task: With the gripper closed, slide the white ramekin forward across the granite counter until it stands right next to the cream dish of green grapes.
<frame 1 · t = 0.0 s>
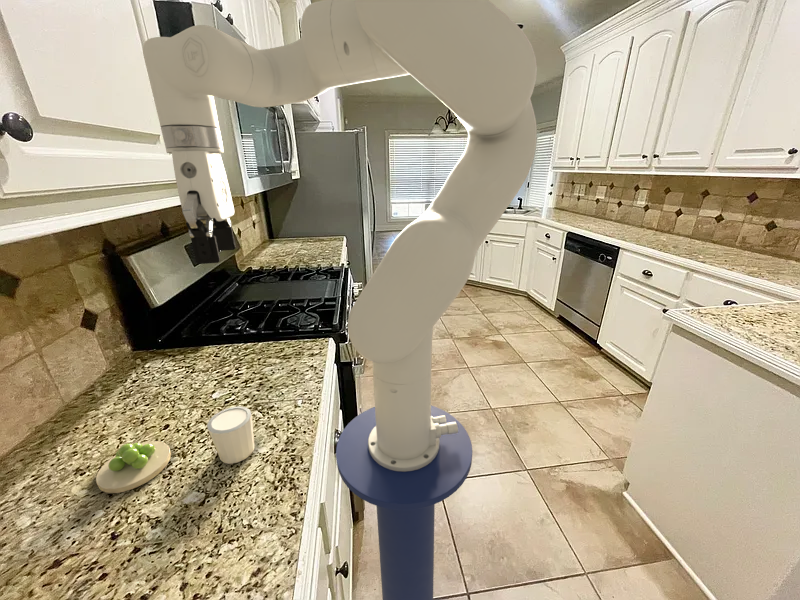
hand: (218, 255, 57), 33 cm above the countertop, tool pointing down, fingers open, 9 cm apart
grape dish: (136, 467, 58), on the countertop
white ramekin: (237, 451, 61), on the countertop
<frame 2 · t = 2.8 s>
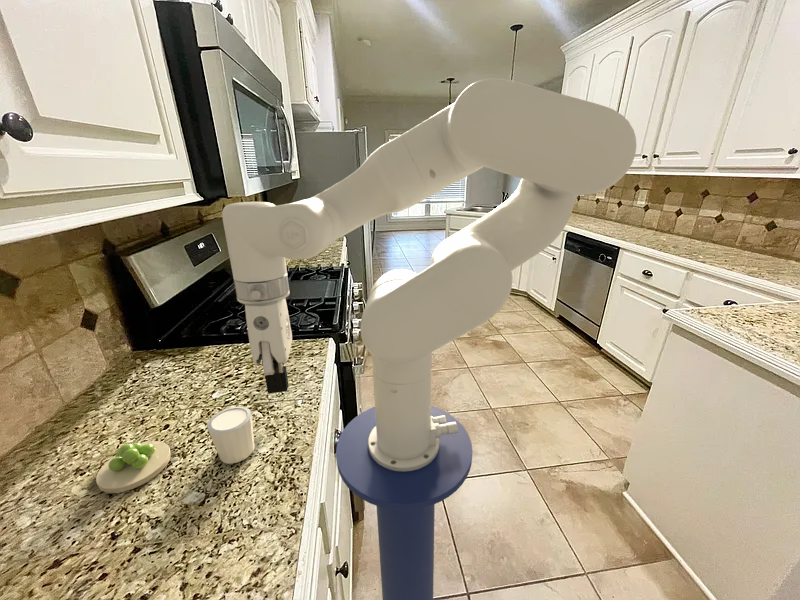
hand: (278, 389, 58), 11 cm above the countertop, tool pointing down, fingers closed
nothing on the countertop moved.
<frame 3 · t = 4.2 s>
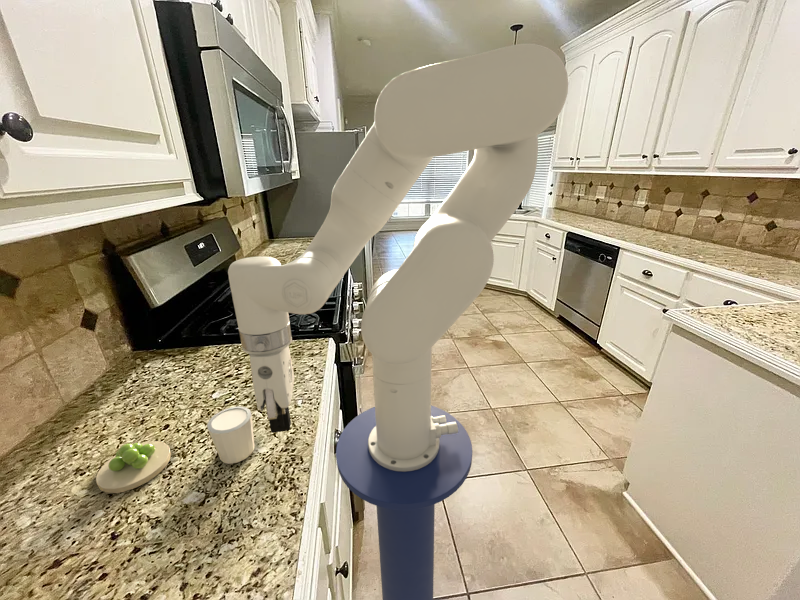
hand: (281, 428, 61), 3 cm above the countertop, tool pointing down, fingers closed
nothing on the countertop moved.
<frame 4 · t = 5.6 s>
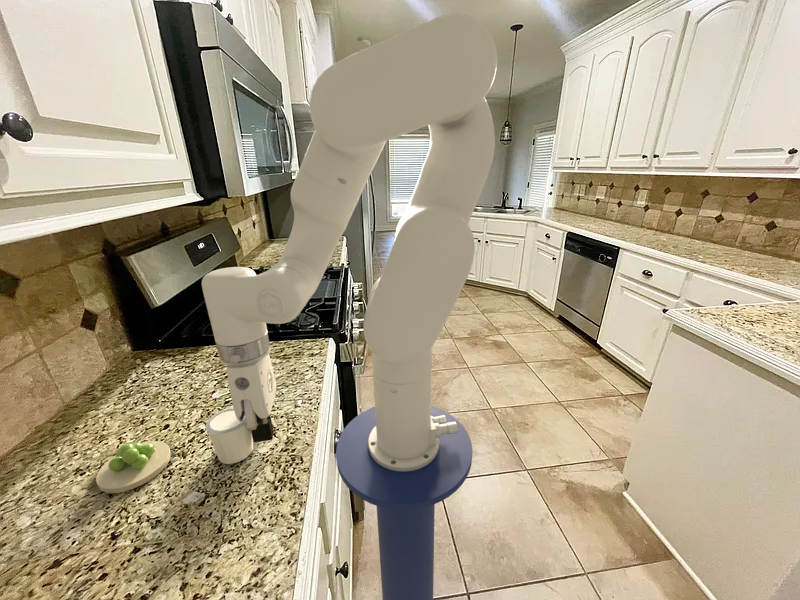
hand: (264, 437, 61), 2 cm above the countertop, tool pointing down, fingers closed
white ramekin: (236, 452, 61), on the countertop, touching gripper
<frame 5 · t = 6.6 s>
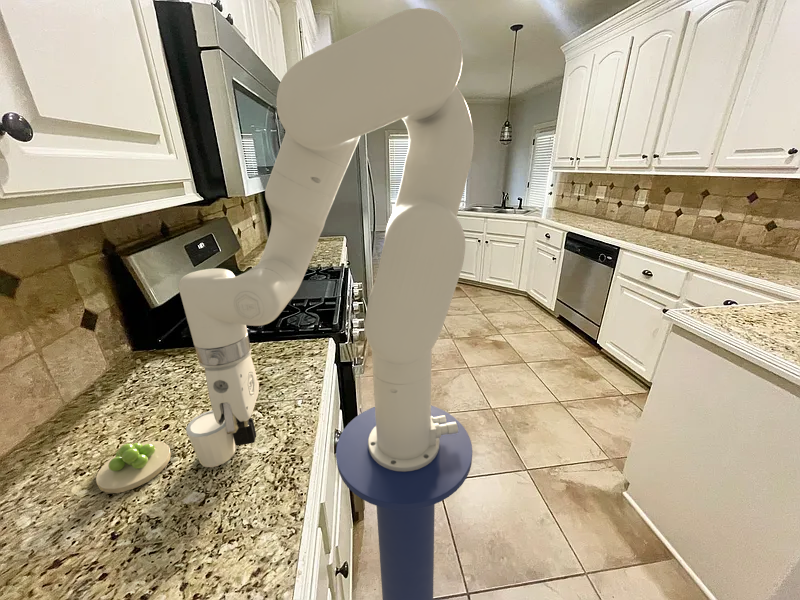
hand: (246, 440, 60), 2 cm above the countertop, tool pointing down, fingers closed
white ramekin: (218, 455, 60), on the countertop, touching gripper
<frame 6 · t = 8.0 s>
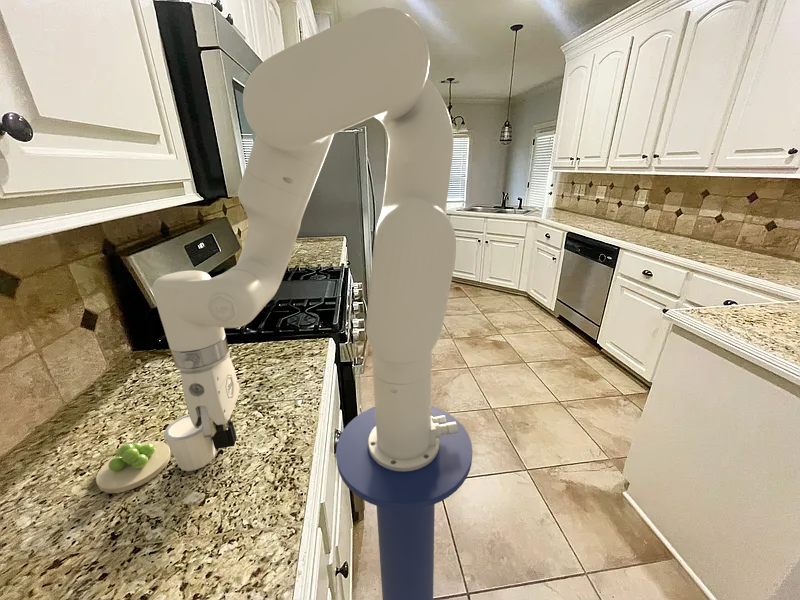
hand: (226, 444, 60), 2 cm above the countertop, tool pointing down, fingers closed
white ramekin: (197, 458, 59), on the countertop, touching gripper
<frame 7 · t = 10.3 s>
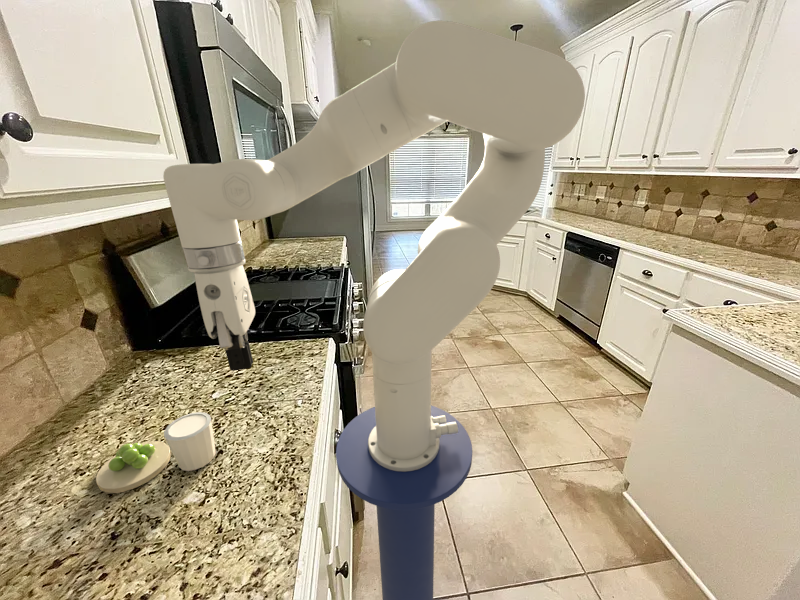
hand: (242, 366, 56), 16 cm above the countertop, tool pointing down, fingers closed
white ramekin: (197, 458, 59), on the countertop
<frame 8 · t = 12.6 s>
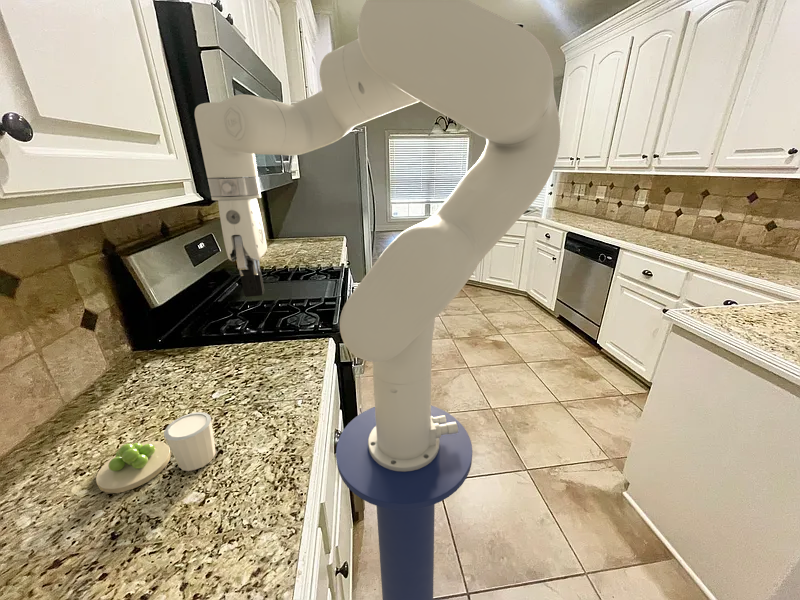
hand: (254, 294, 63), 25 cm above the countertop, tool pointing down, fingers closed
nothing on the countertop moved.
at the end: white ramekin inside the target area (0.5 cm from its centre), on the countertop; white ramekin tilted 0°; white ramekin moved 6.5 cm from its start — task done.
